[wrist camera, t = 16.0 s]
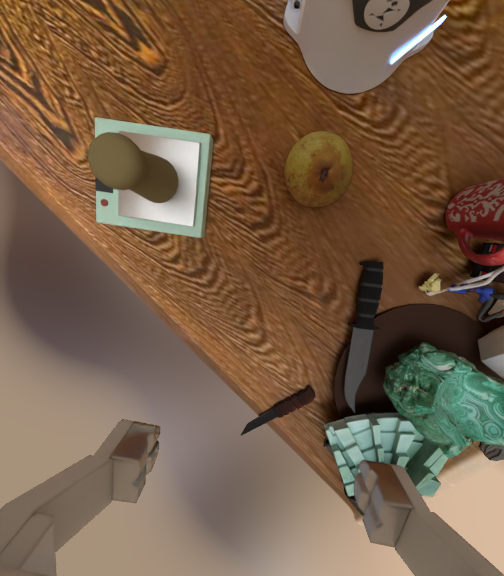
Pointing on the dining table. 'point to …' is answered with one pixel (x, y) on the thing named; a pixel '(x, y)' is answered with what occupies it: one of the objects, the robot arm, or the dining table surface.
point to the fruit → (318, 169)
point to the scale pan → (187, 169)
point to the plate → (400, 339)
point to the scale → (109, 196)
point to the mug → (478, 219)
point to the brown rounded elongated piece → (131, 168)
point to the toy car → (484, 269)
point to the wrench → (493, 451)
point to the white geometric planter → (494, 344)
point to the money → (385, 448)
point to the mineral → (446, 398)
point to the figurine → (463, 287)
